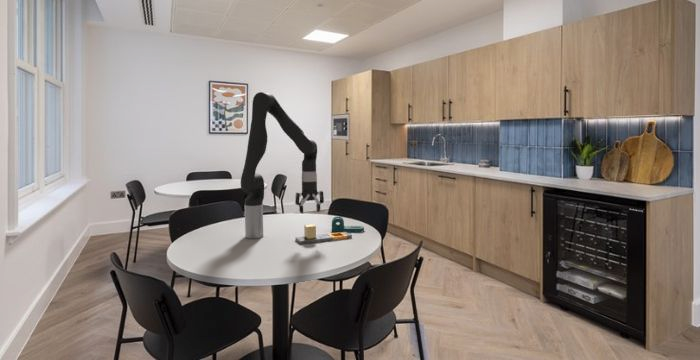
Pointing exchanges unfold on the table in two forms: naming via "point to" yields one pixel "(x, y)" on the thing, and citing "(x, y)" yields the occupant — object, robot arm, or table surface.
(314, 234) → the block
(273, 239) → the table surface
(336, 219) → the bracket
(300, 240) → the rail
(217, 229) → the table surface
